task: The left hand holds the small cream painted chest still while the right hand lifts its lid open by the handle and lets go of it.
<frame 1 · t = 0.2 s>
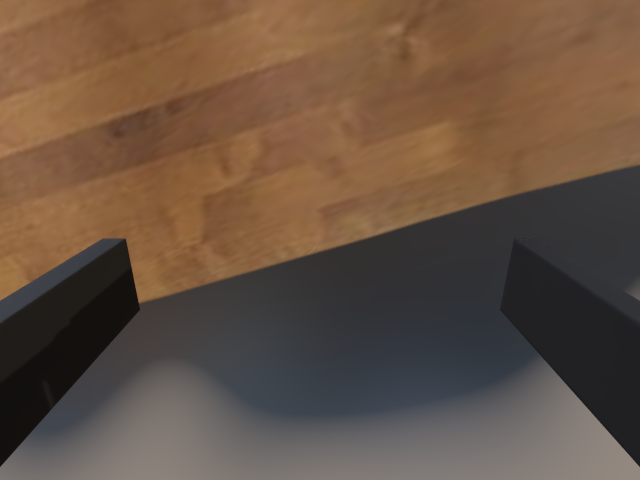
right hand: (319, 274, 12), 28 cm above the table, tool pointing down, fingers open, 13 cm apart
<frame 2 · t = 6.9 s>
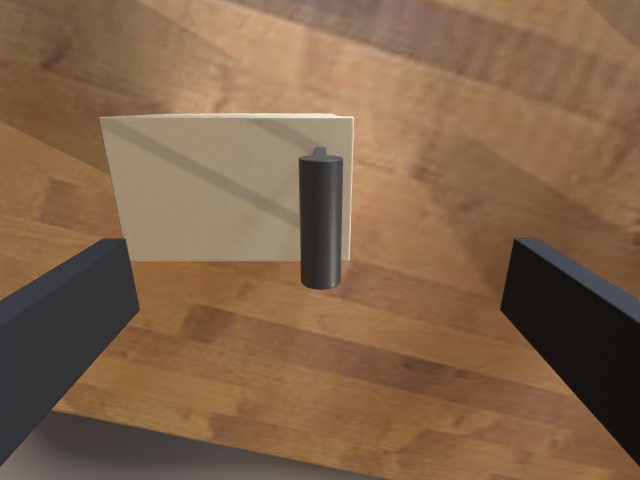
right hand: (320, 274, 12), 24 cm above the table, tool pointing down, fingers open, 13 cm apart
chest: (256, 166, 35), on the table
lid: (220, 206, 21), point 15 cm above the table, hinge at 0.0°
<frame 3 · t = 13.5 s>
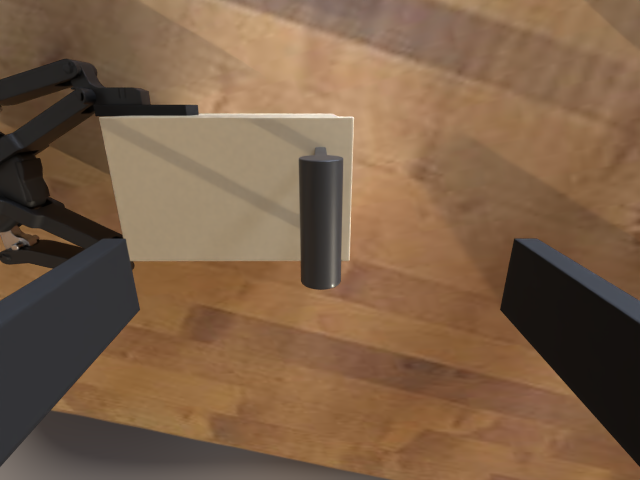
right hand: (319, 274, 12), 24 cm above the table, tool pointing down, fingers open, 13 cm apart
left hand: (200, 179, 29), fingers closed on chest, 10 cm apart
chest: (256, 166, 35), on the table, touching left hand
lid: (220, 206, 21), point 15 cm above the table, hinge at 0.0°
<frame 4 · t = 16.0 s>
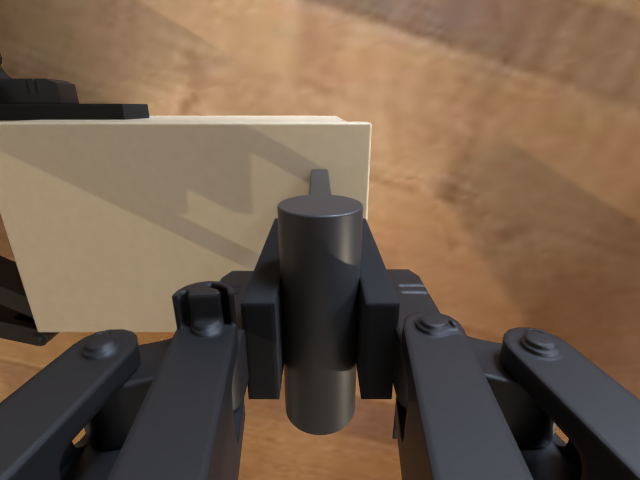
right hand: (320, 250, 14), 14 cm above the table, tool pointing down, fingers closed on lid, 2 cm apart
chest: (237, 183, 27), on the table, touching left hand
lid: (157, 268, 13), point 15 cm above the table, hinge at -0.1°, touching right hand
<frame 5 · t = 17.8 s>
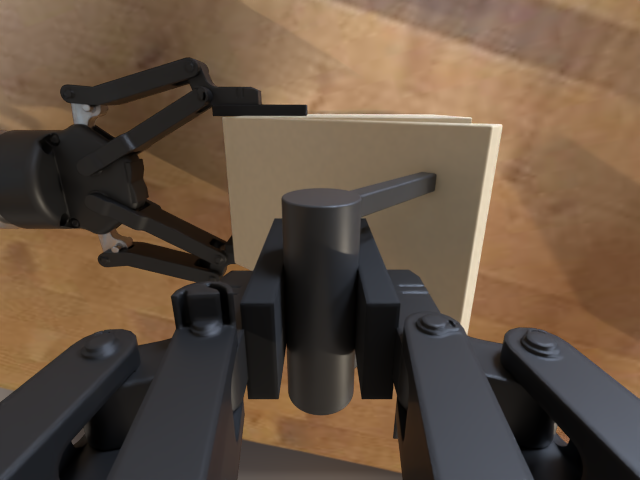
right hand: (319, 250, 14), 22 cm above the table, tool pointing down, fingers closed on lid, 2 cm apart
left hand: (307, 181, 28), fingers closed on chest, 10 cm apart
chest: (346, 167, 34), on the table, touching left hand
lid: (272, 233, 16), point 20 cm above the table, hinge at 38.4°, touching right hand
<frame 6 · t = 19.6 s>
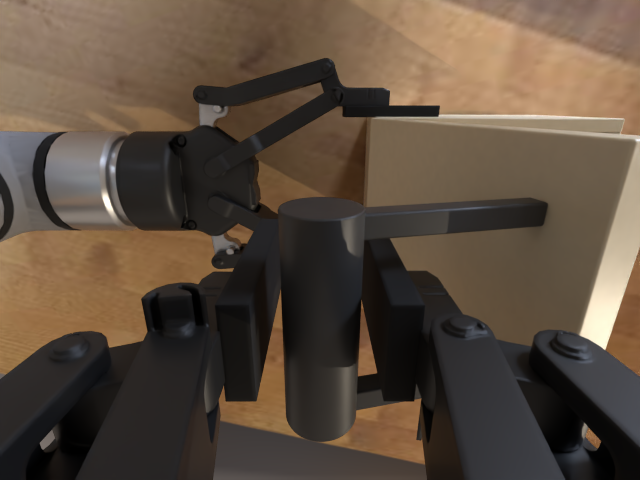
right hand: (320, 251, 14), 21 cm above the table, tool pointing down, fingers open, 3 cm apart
left hand: (425, 182, 28), fingers closed on chest, 10 cm apart
chest: (443, 168, 34), on the table, touching left hand
lid: (361, 240, 16), point 20 cm above the table, hinge at 73.7°
when the left hand's fingers open (7 cm above the table, at t = 23.6 s): chest stays where it is, on the table.
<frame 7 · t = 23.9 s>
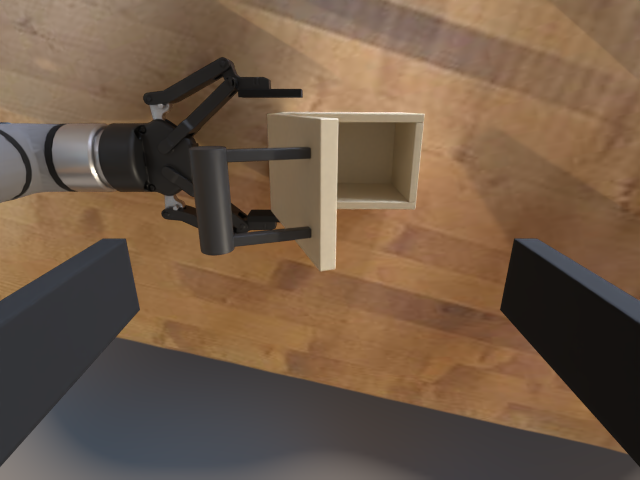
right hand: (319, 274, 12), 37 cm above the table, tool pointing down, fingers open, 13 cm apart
left hand: (303, 158, 41), fingers open, 13 cm apart
chest: (341, 151, 47), on the table
lid: (250, 180, 28), point 20 cm above the table, hinge at 71.0°
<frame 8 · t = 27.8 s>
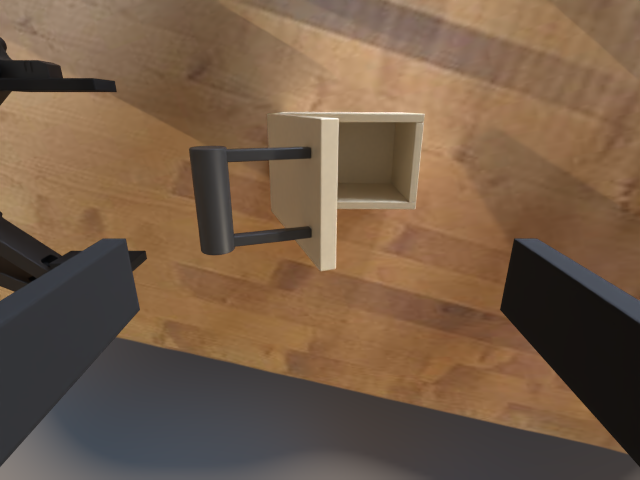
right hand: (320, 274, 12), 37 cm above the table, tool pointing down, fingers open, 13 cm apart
chest: (341, 151, 47), on the table
lid: (250, 180, 28), point 20 cm above the table, hinge at 71.0°
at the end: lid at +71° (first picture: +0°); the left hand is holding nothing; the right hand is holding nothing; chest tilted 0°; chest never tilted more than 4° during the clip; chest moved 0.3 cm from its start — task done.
